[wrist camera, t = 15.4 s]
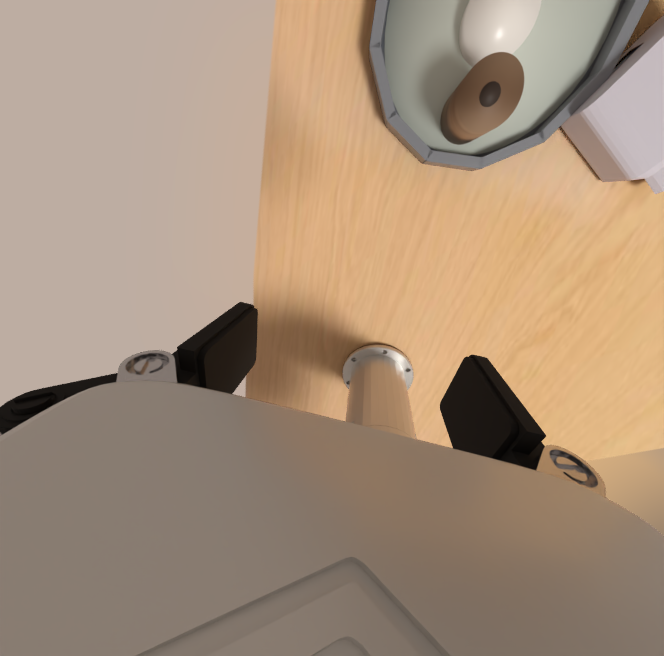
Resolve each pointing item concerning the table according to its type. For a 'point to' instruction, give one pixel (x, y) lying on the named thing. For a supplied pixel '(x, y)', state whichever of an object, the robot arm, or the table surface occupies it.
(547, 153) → the table surface
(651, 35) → the charger
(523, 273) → the table surface
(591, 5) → the tray
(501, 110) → the bead
